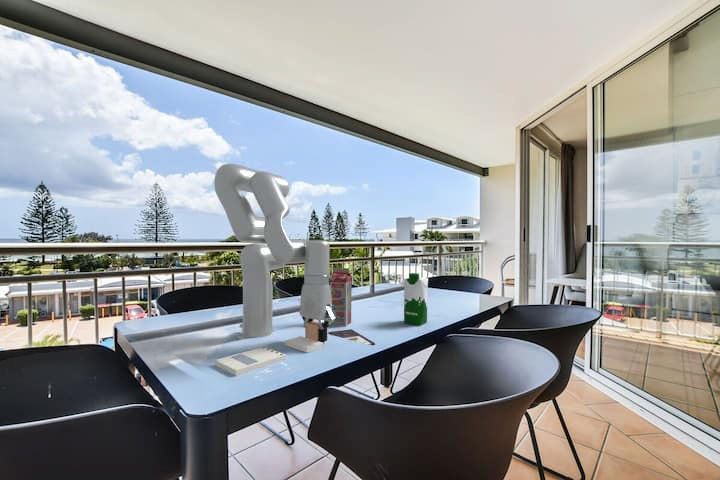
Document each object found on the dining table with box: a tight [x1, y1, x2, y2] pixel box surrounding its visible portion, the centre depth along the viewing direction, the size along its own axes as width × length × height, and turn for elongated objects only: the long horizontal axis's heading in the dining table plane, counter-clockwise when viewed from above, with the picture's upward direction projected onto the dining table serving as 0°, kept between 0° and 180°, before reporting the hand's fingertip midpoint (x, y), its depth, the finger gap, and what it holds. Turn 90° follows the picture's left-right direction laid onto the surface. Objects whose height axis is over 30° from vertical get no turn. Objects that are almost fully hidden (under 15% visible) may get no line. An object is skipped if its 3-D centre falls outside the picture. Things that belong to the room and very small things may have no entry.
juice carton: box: [329, 267, 353, 328], centre depth 130 cm, size 7×7×22 cm
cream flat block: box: [214, 346, 287, 377], centre depth 84 cm, size 10×14×2 cm
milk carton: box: [403, 272, 429, 327], centre depth 134 cm, size 9×9×20 cm
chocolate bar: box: [327, 328, 376, 346], centre depth 111 cm, size 9×1×18 cm
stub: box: [284, 320, 325, 353], centre depth 99 cm, size 10×9×6 cm
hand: (316, 339), depth 101 cm, fingers closed on stub, 5 cm apart
